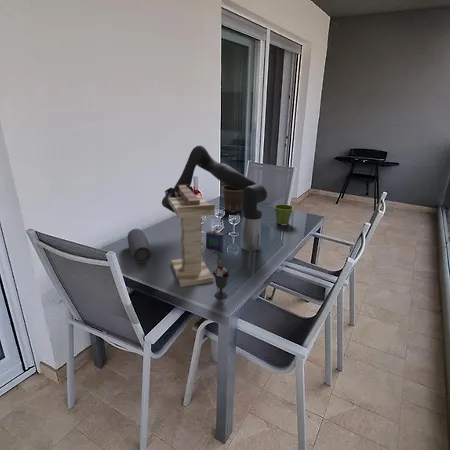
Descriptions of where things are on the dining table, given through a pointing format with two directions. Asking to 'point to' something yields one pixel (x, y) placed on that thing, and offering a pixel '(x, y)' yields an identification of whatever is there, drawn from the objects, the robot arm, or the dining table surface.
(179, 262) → the birch stand
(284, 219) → the plant pot
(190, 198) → the walnut plank
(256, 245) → the robot arm
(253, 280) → the dining table surface
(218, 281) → the sundae
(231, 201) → the plant pot
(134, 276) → the dining table surface
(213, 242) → the flask
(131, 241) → the bluetooth speaker
